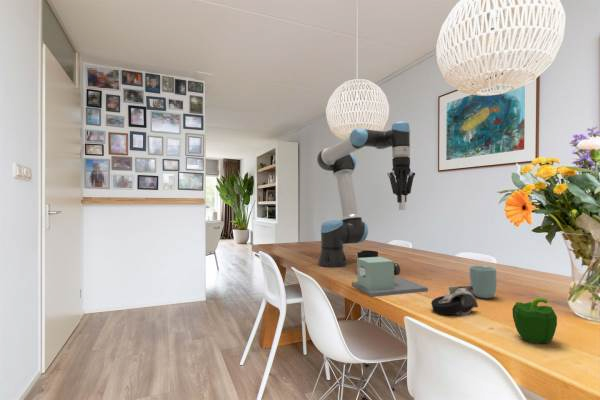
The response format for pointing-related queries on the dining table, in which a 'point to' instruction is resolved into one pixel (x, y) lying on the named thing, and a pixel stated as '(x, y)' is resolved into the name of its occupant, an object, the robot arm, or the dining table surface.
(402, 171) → the robot arm
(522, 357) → the dining table surface
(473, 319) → the dining table surface
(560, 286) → the dining table surface
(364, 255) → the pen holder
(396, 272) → the shaft
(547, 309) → the bell pepper
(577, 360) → the dining table surface
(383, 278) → the block
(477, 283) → the cup
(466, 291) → the caster wheel
